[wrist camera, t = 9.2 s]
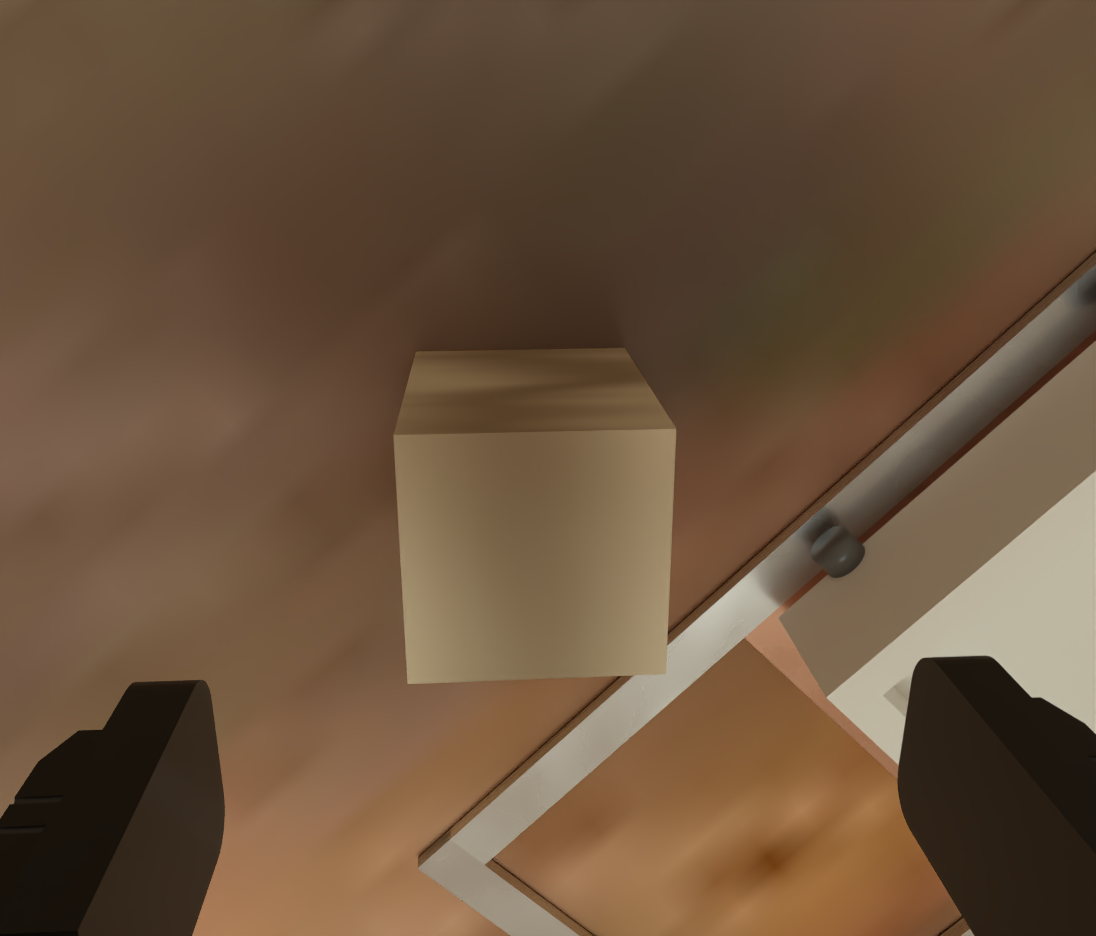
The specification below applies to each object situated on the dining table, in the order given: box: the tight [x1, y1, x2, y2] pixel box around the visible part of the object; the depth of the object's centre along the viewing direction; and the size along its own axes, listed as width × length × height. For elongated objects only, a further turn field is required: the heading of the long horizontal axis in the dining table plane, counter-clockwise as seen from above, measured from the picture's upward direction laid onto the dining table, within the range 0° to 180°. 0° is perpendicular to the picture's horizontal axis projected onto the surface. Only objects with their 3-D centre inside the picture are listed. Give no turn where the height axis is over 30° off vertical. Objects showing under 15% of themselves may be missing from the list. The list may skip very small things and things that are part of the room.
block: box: [393, 348, 676, 684], centre depth 19 cm, size 4×4×6 cm
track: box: [418, 252, 1096, 936], centre depth 25 cm, size 25×14×1 cm, turn 135°
